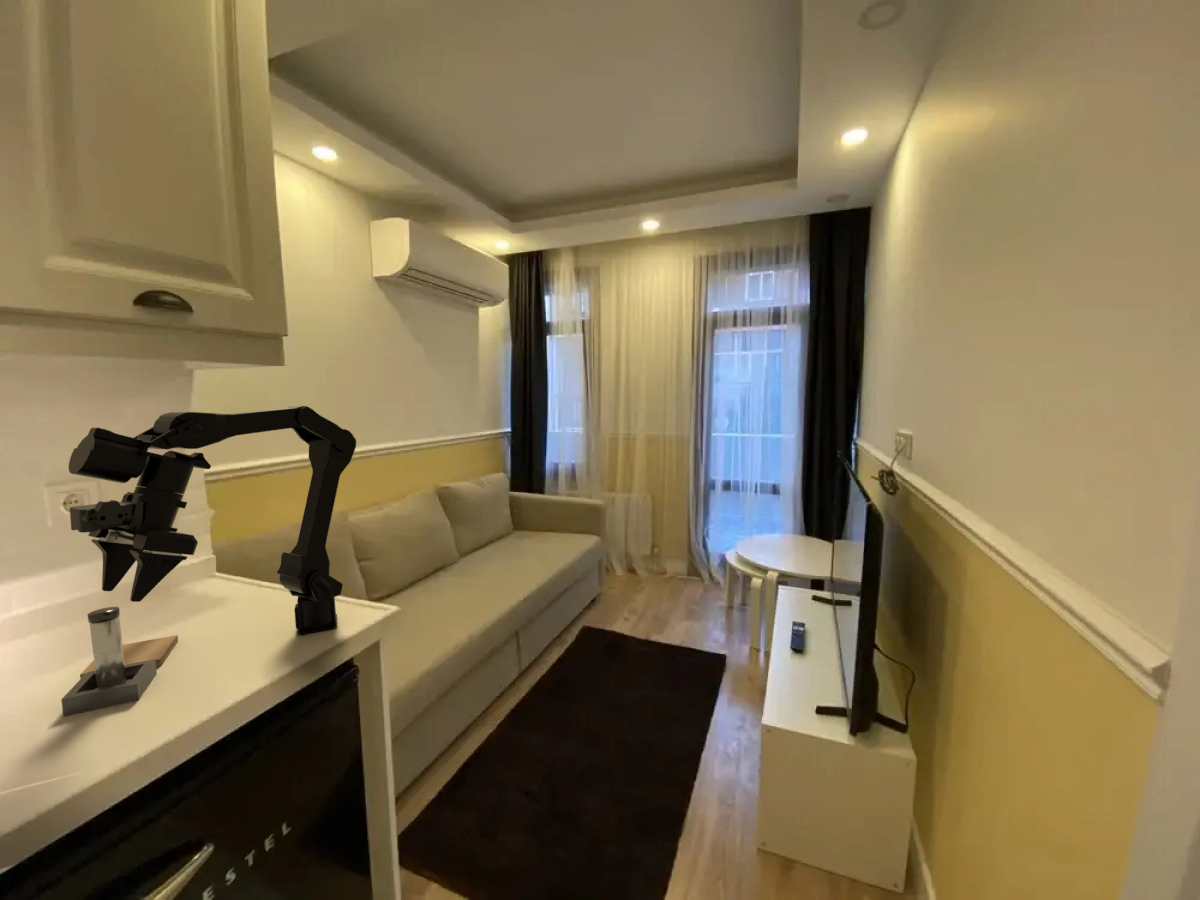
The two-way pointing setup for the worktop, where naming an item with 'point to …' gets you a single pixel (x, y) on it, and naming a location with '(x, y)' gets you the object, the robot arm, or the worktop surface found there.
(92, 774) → the worktop surface
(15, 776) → the worktop surface
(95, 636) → the capped metal cylinder
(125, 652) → the walnut pad
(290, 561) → the robot arm
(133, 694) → the holder
